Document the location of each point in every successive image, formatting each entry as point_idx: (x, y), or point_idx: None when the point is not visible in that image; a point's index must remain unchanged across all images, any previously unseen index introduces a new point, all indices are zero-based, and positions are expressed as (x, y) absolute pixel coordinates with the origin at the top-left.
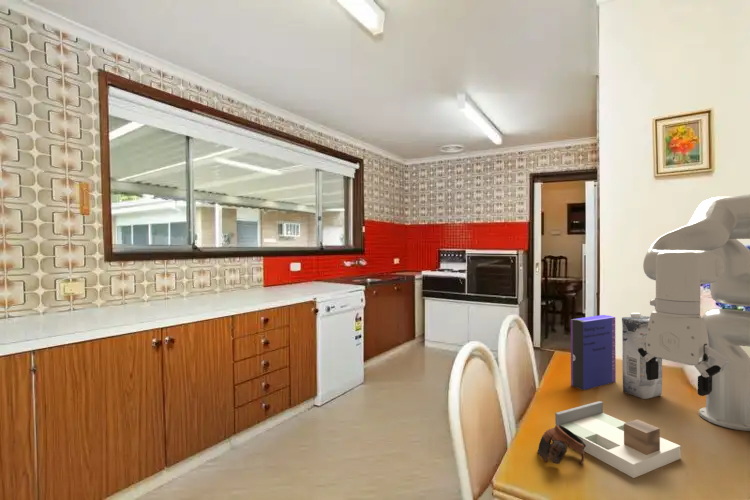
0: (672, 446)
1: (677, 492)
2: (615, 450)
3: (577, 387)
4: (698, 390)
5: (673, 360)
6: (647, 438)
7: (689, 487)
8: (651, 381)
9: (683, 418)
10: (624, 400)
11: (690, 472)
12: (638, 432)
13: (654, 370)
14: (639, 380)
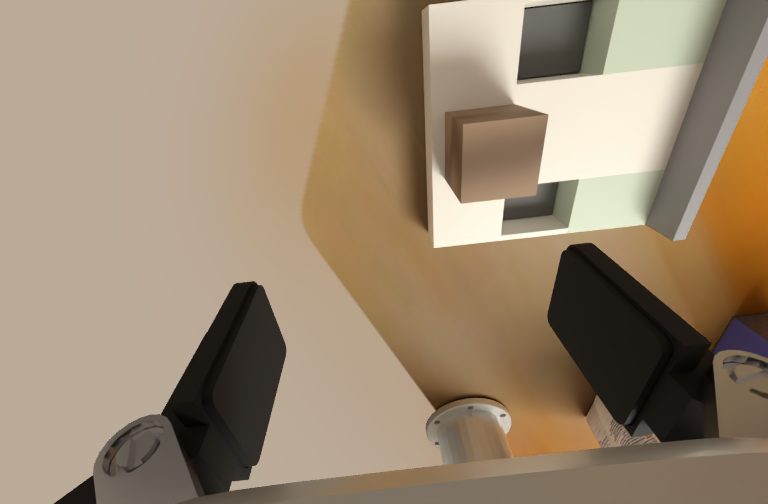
0: (440, 227)
1: (335, 75)
2: (508, 30)
3: (753, 315)
4: (248, 301)
5: (408, 486)
6: (457, 127)
7: (342, 131)
8: (618, 433)
9: (514, 376)
10: None
11: (383, 197)
12: (488, 119)
13: (594, 333)
14: None
